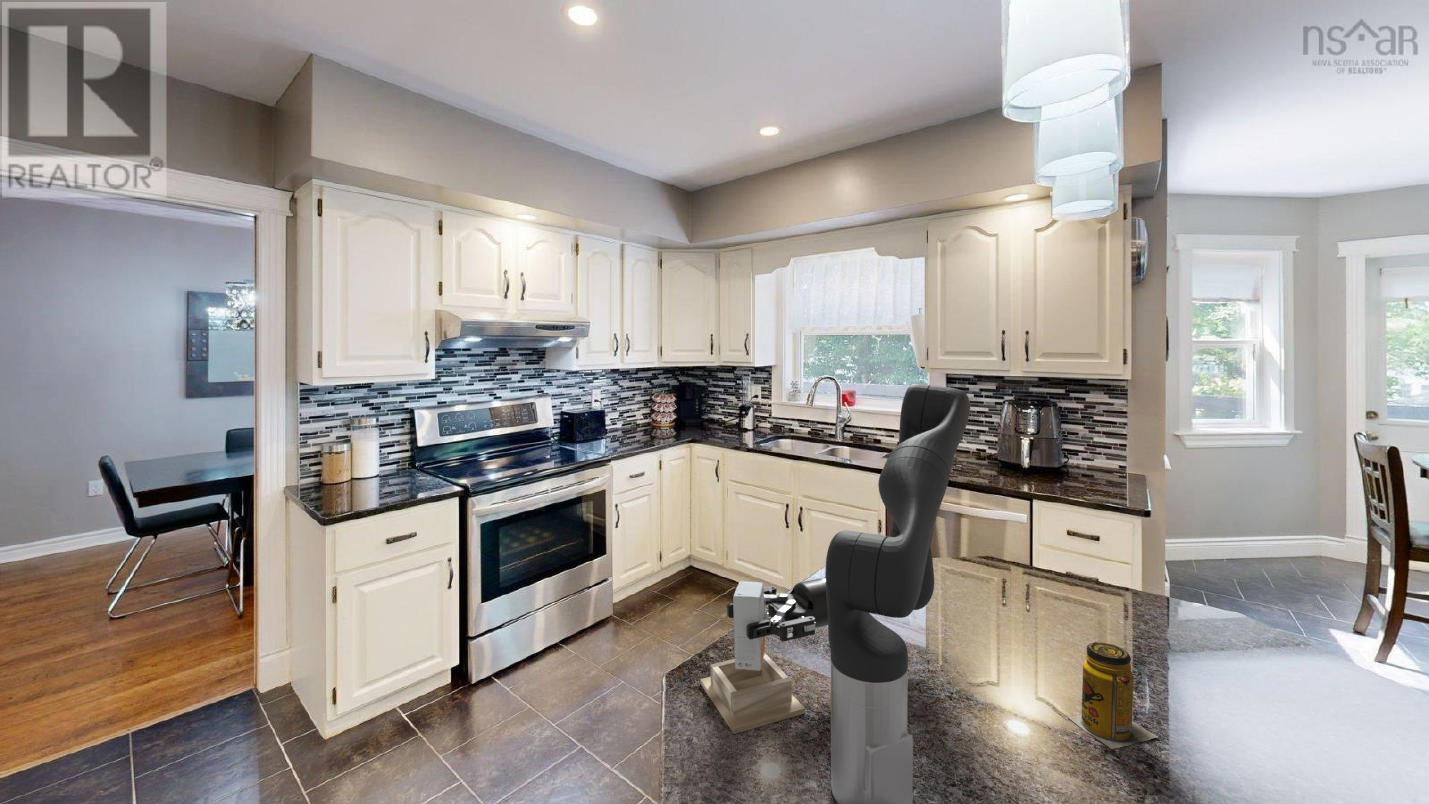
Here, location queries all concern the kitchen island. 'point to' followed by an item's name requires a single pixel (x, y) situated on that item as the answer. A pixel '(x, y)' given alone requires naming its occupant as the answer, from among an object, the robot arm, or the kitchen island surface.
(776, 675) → the block
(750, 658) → the skincare box
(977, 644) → the kitchen island surface
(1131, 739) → the condiment
